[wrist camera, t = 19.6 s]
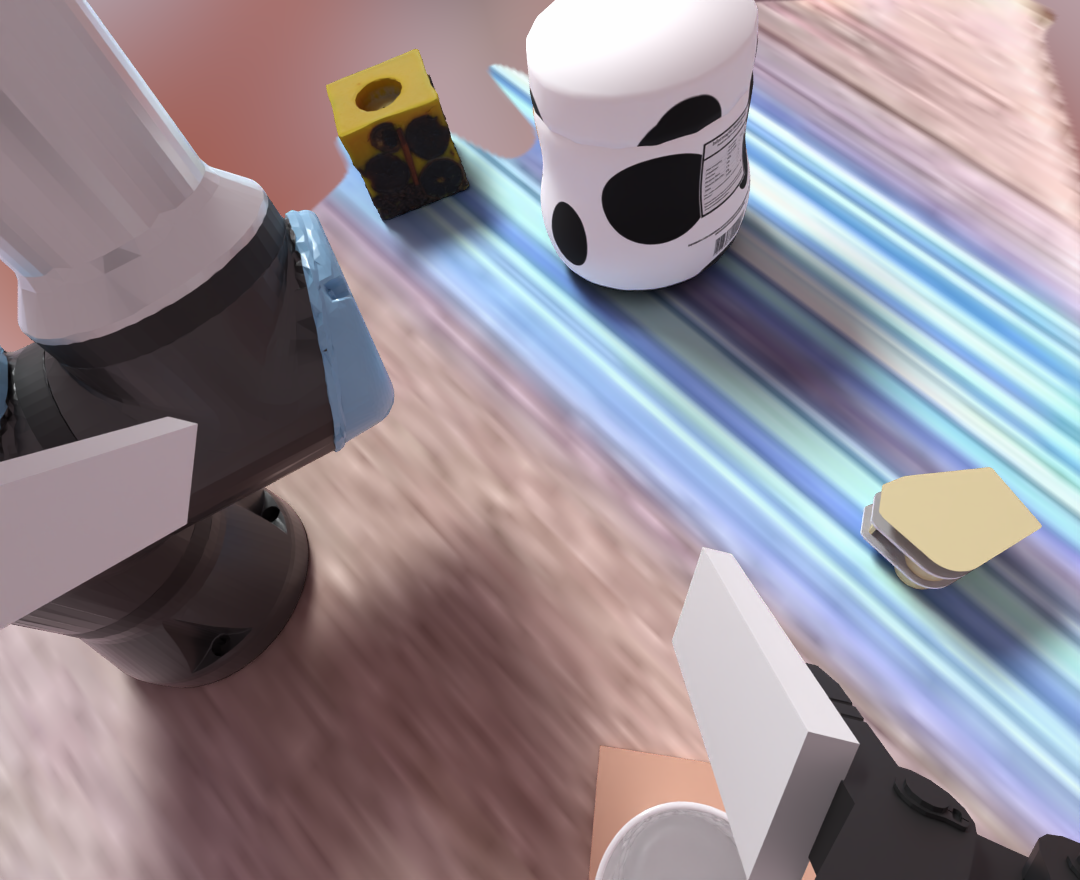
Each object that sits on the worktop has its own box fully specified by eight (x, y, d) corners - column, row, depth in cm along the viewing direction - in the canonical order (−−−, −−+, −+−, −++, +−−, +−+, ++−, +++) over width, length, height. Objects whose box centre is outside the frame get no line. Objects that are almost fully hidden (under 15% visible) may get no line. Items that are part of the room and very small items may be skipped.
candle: (450, 138, 67) (419, 45, 58) (473, 189, 62) (443, 96, 53) (366, 170, 67) (323, 81, 58) (382, 224, 61) (337, 136, 53)
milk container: (554, 184, 60) (517, -20, 44) (731, 163, 56) (759, -64, 41) (546, 316, 51) (497, 123, 36) (753, 301, 48) (797, 82, 33)
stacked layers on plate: (941, 459, 40) (980, 418, 35) (1042, 581, 35) (1102, 552, 30) (805, 514, 39) (825, 479, 35) (888, 643, 35) (924, 624, 30)
